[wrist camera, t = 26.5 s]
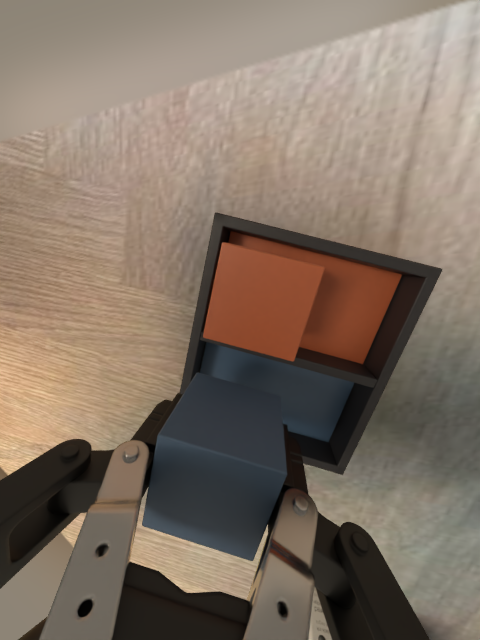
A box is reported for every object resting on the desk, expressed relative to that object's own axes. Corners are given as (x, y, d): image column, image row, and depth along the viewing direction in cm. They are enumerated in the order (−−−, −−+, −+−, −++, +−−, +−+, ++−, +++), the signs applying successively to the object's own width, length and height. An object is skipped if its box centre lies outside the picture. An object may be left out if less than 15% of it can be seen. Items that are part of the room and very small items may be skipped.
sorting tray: (186, 401, 19) (173, 425, 16) (224, 219, 15) (214, 211, 12) (332, 443, 18) (342, 475, 16) (410, 266, 14) (443, 268, 12)
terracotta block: (220, 315, 16) (202, 337, 11) (235, 246, 15) (221, 241, 10) (286, 332, 16) (293, 362, 11) (308, 263, 14) (325, 267, 10)
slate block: (182, 439, 14) (141, 526, 9) (196, 371, 12) (157, 434, 8) (258, 462, 13) (253, 562, 9) (281, 395, 12) (288, 474, 8)
